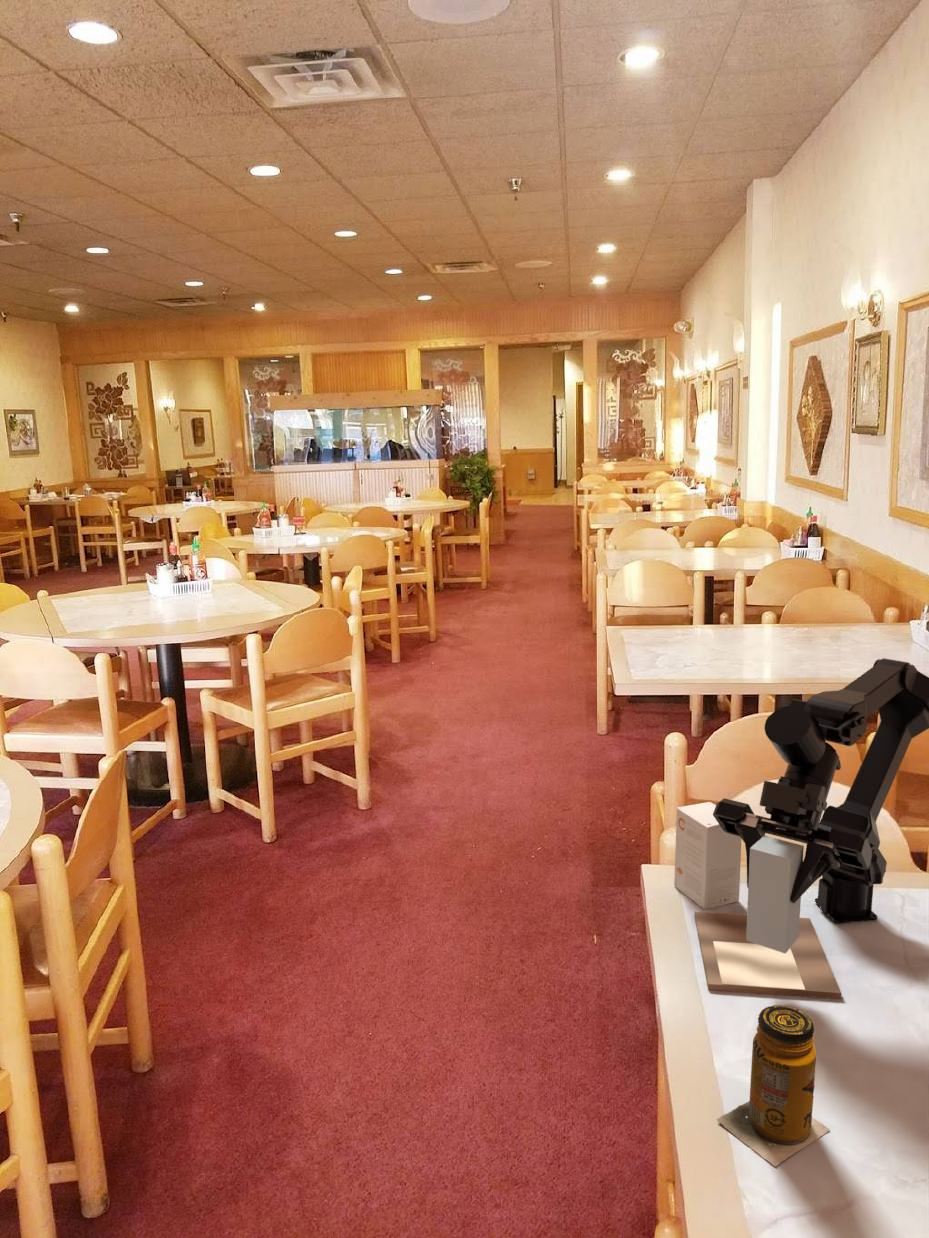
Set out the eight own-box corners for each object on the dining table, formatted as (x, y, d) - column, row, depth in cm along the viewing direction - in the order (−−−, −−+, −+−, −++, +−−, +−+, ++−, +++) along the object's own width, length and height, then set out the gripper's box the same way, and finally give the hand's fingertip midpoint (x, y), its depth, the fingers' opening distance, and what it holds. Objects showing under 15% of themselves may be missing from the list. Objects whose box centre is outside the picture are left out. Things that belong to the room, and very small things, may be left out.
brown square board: (694, 916, 135) (694, 911, 135) (809, 923, 133) (810, 917, 132) (708, 989, 118) (708, 983, 117) (841, 998, 115) (841, 992, 115)
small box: (739, 902, 139) (743, 820, 136) (704, 910, 137) (707, 827, 134) (707, 878, 146) (710, 800, 144) (672, 886, 144) (675, 806, 142)
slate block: (760, 925, 121) (764, 835, 118) (798, 937, 118) (803, 845, 115) (746, 940, 117) (750, 848, 115) (785, 953, 114) (790, 859, 111)
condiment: (830, 1131, 94) (837, 1024, 91) (774, 1168, 89) (781, 1057, 87) (770, 1089, 100) (776, 988, 97) (716, 1122, 95) (720, 1017, 93)
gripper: (721, 739, 121) (680, 849, 115) (871, 770, 110) (835, 893, 104) (743, 778, 129) (706, 882, 123) (886, 810, 117) (853, 927, 111)
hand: (770, 895), depth 115 cm, fingers closed on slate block, 5 cm apart
